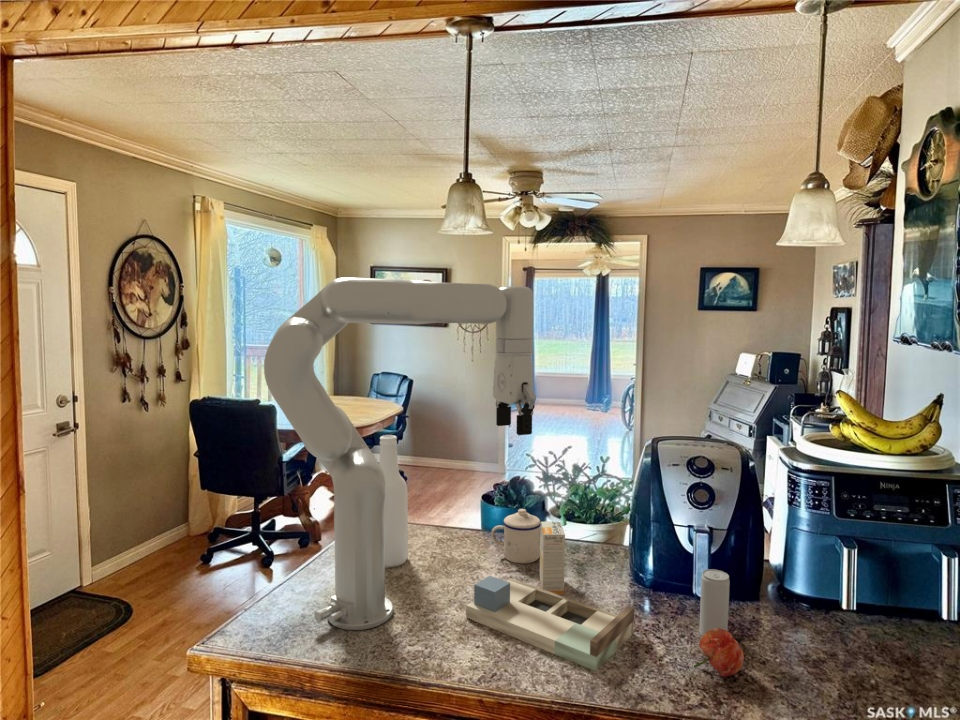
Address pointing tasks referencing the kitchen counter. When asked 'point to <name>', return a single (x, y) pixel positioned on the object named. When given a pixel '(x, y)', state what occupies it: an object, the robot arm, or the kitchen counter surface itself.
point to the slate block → (492, 593)
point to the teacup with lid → (520, 537)
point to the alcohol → (394, 505)
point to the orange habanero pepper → (722, 651)
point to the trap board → (558, 624)
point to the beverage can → (714, 600)
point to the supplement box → (552, 557)
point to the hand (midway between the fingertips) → (513, 429)
